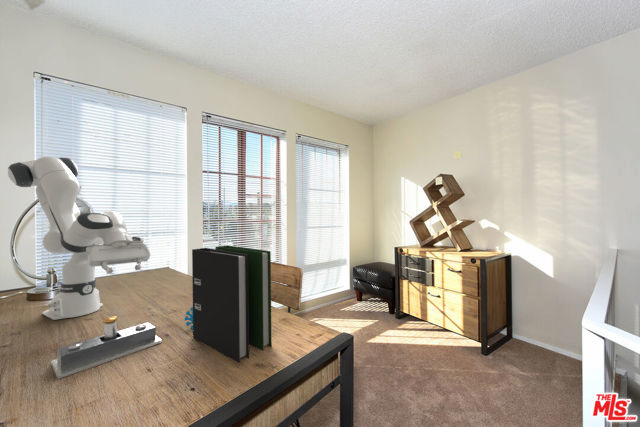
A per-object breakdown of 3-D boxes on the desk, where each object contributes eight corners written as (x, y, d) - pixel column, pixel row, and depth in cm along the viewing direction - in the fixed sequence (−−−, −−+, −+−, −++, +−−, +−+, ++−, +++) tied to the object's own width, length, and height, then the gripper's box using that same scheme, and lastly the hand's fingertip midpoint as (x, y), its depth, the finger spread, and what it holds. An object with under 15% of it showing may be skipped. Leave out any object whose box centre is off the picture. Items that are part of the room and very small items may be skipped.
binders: (273, 345, 90) (272, 250, 90) (234, 365, 78) (233, 256, 78) (228, 324, 107) (227, 245, 107) (191, 338, 95) (190, 249, 95)
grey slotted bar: (57, 379, 73) (57, 358, 72) (51, 363, 80) (51, 345, 80) (161, 342, 93) (161, 326, 93) (149, 332, 100) (148, 318, 100)
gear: (184, 329, 99) (185, 305, 105) (182, 337, 102) (182, 312, 108) (215, 326, 105) (214, 303, 111) (212, 333, 108) (210, 310, 115)
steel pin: (101, 350, 85) (100, 319, 85) (113, 345, 89) (112, 315, 89) (108, 353, 84) (107, 321, 84) (120, 347, 87) (119, 317, 87)
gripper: (86, 240, 101) (92, 270, 95) (147, 237, 118) (155, 263, 112) (83, 250, 104) (88, 280, 98) (142, 246, 120) (150, 272, 114)
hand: (124, 271), depth 105 cm, fingers open, 8 cm apart
